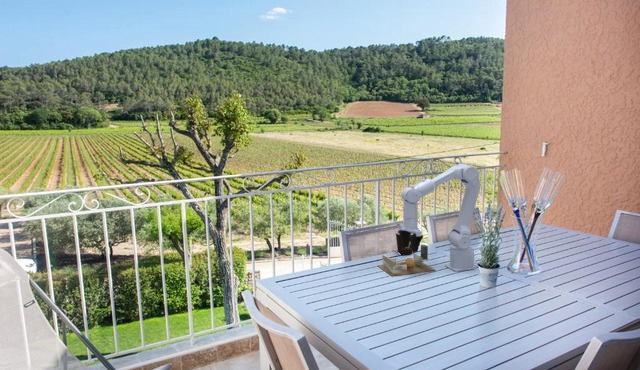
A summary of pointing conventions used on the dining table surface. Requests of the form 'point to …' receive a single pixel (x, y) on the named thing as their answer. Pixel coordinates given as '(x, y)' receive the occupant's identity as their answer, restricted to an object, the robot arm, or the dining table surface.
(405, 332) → the dining table surface
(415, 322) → the dining table surface
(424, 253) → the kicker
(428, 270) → the brown piece
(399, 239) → the coffee mug
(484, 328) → the dining table surface
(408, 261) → the ball
